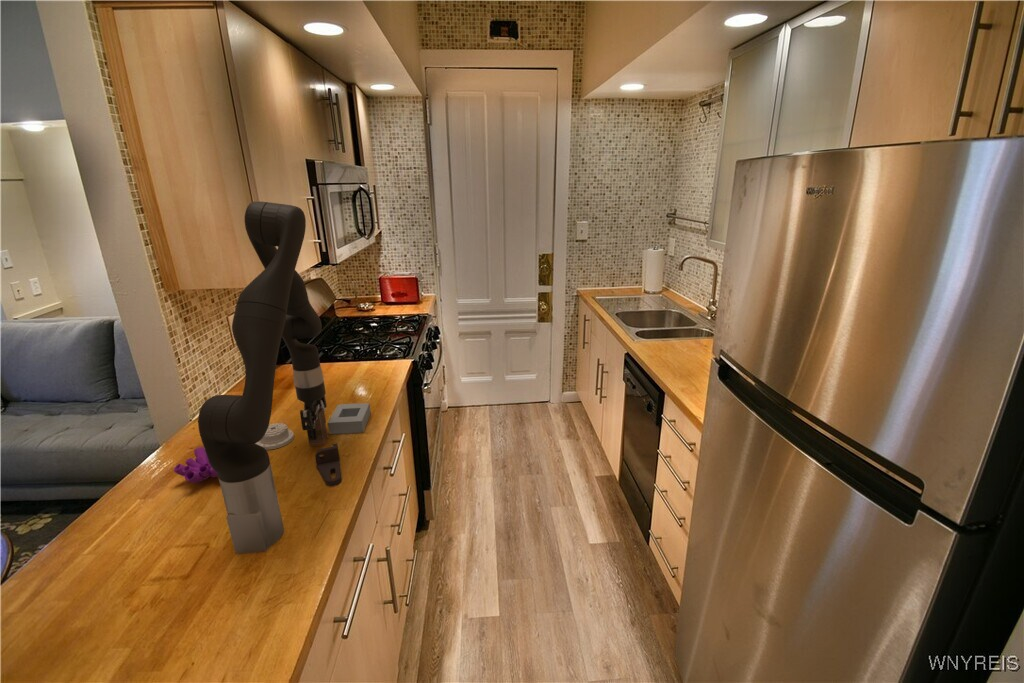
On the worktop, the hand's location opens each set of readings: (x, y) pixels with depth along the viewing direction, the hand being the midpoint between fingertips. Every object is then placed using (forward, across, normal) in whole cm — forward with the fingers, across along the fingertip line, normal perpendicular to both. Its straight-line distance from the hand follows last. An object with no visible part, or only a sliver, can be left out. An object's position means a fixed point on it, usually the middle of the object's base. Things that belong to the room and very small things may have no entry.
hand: (317, 431), depth 131 cm
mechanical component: (+4, +2, +13) cm, 14 cm away
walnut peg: (+3, 0, 0) cm, 3 cm away
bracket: (+4, -16, -7) cm, 18 cm away
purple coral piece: (+4, -14, +23) cm, 27 cm away
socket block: (+3, +10, -7) cm, 13 cm away
